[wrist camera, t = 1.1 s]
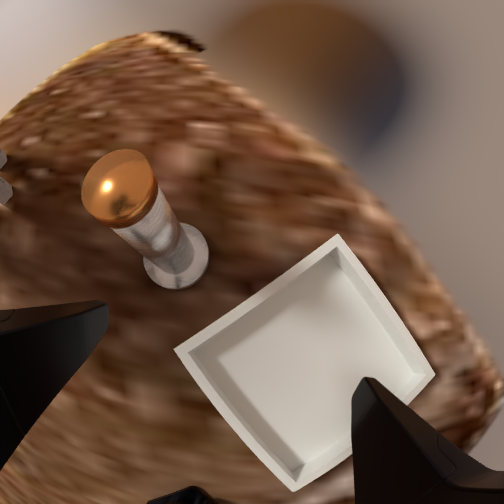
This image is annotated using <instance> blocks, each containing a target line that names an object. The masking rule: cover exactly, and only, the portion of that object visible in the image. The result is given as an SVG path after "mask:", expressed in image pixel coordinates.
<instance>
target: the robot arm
mask: <svg viewBox="0 0 504 504" xmlns="http://www.w3.org/2000/svg"><path fill="white" fill-rule="evenodd" d="M108 326H109V306H108V304H107V303H105V302H102V301H100V300H93V301H85V302H77V303H68V304H59V305H50V306H41V307H31V308H21V309H10V310H0V471H1V469H2V468H3V466H4V465H5V463H6V462H7V461H8V459H9V458H10V456H11V455H12V453H13V452H14V451H15V449H16V448H17V446H18V445H19V444H20V442H21V441H22V440H23V438H24V437H25V436H24V435H26V434H27V433H28V431H29V430H30V429H31V427H32V426H33V425H34V423H35V422H36V421H37V419H38V418H39V417H40V416H41V414H42V413H43V412H44V410H45V409H46V408H47V407H48V405H49V404H50V403H51V402H52V400H53V399H54V398H55V397H56V395H57V394H58V393H59V392H60V390H61V389H62V388H63V387H64V386H65V384H66V383H67V382H68V381H69V380H70V378H71V377H72V376H73V375H74V374H75V372H76V371H77V370H78V369H79V368H80V366H81V365H82V364H83V363H84V362H85V361H86V359H87V358H88V357H89V355H90V354H91V352H92V351H93V349H94V348H95V347H96V345H97V344H98V342H99V341H100V339H101V338H102V336H103V335H104V333H105V332H106V331H107V329H108ZM351 444H352V456H353V470H354V490H355V504H504V471H495V470H491V469H489V468H487V467H485V466H484V465H482V464H481V463H479V462H478V461H476V460H475V459H473V458H472V457H471V456H469V455H468V454H466V453H465V452H463V451H462V450H461V449H459V448H458V447H456V446H455V445H454V444H452V443H451V442H450V441H449V440H447V439H446V438H445V437H444V436H443V435H441V434H440V433H438V432H437V430H435V429H434V428H433V427H432V426H431V425H429V424H428V423H427V422H426V421H425V420H423V419H422V418H421V417H420V416H419V415H418V414H416V413H415V412H414V411H413V410H412V409H410V408H409V407H408V406H407V405H406V404H405V403H403V402H402V401H401V400H400V399H399V398H398V397H396V396H395V395H394V394H393V393H392V392H391V391H389V390H388V389H387V388H386V387H385V386H384V385H382V384H381V383H380V382H379V381H378V380H377V379H375V378H372V377H363V378H362V379H361V381H360V383H359V384H358V386H357V388H356V390H355V391H354V393H353V395H352V399H351ZM191 490H194V491H191ZM147 504H215V503H214V502H213V501H211V500H210V499H208V498H207V497H206V496H205V495H203V494H202V493H201V492H200V491H199V490H198V489H197V488H196V487H194V486H189V487H187V488H184V489H181V490H179V491H176V492H174V493H171V494H168V495H165V496H162V497H159V498H156V499H153V500H150V501H148V502H147Z"/></svg>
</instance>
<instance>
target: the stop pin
mask: <svg viewBox="0 0 504 504" xmlns="http://www.w3.org/2000/svg"><path fill="white" fill-rule="evenodd" d="M81 198H82V202H83V205H84V207H85V208H86V210H87V211H88V212H89V213H91V214H92V215H93V216H94V217H95V218H96V219H97V220H99V221H100V222H101V223H102V224H103V225H105V226H107V227H109V228H111V229H112V230H113V231H114V232H115V233H117V234H118V235H119V236H120V237H121V238H123V239H124V240H125V241H126V242H127V243H129V244H130V245H131V246H132V247H133V248H135V249H136V250H137V251H138V252H139V253H141V254H142V255H143V262H144V267H145V270H146V272H147V274H148V275H149V277H150V278H151V279H152V280H153V281H154V282H155V283H157V284H158V285H160V286H162V287H164V288H166V289H170V290H183V289H187V288H189V287H191V286H193V285H195V284H196V283H197V282H198V281H199V280H200V279H201V278H202V277H203V276H204V274H205V272H206V270H207V268H208V265H209V260H210V253H209V248H208V245H207V243H206V240H205V238H204V237H203V235H202V234H201V233H200V232H199V231H198V230H197V229H196V228H195V227H193V226H191V225H188V224H185V223H179V221H178V219H177V217H176V216H175V214H174V212H173V210H172V209H171V207H170V205H169V203H168V202H167V200H166V198H165V196H164V194H163V193H162V191H161V189H160V187H159V185H158V181H157V178H156V176H155V174H154V172H153V170H152V169H151V167H150V165H149V163H148V161H147V159H146V158H145V156H144V155H143V154H142V153H140V152H139V151H136V150H133V149H120V150H116V151H113V152H111V153H109V154H107V155H105V156H103V157H102V158H101V159H99V160H98V161H97V162H96V163H95V164H94V165H93V166H92V167H91V169H90V170H89V172H88V173H87V175H86V177H85V179H84V182H83V185H82V190H81Z"/></svg>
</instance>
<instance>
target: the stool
mask: <svg viewBox="0 0 504 504" xmlns="http://www.w3.org/2000/svg"><path fill="white" fill-rule="evenodd" d="M6 162H7V156H6V154H5V153H4V152H3V151H2V150H1V149H0V169H1V168H2V167H3V166H4V164H5V163H6ZM12 195H13V191H12V186H11V185H10V184H9V183H7V182H6V181H5V180H4V179H3V178H1V177H0V203H1V204H3V205H5V204H6V202H7V201H8V200H9V199H10V198H11V197H12Z"/></svg>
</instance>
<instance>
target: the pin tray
mask: <svg viewBox="0 0 504 504" xmlns="http://www.w3.org/2000/svg"><path fill="white" fill-rule="evenodd" d="M174 351H175V352H176V354H177V355H178V357H179V358H180V360H181V361H182V363H183V364H184V365H185V367H186V368H187V370H188V371H189V373H190V374H191V375H192V377H193V378H194V380H195V381H196V382H197V384H198V385H199V387H200V388H201V389H202V391H203V392H204V393H205V395H206V396H207V397H208V399H209V400H210V401H211V402H212V404H213V405H214V406H215V408H216V409H217V410H218V411H219V413H220V414H221V415H222V416H223V418H224V419H225V420H226V421H227V423H228V424H229V425H230V426H231V427H232V429H233V430H234V431H235V432H236V433H237V434H238V436H239V437H240V438H241V439H242V440H243V441H244V442H245V444H246V445H247V446H248V447H249V448H250V449H251V450H252V451H253V452H254V454H255V455H256V456H257V457H258V458H259V459H260V460H261V461H262V462H263V463H264V464H265V465H266V466H267V467H268V468H269V469H270V470H271V471H272V472H273V473H274V474H275V475H276V476H277V477H278V478H279V479H280V480H281V481H282V482H283V483H284V484H285V485H286V486H287V487H288V488H289V489H290V490H291V491H292V492H295V491H296V490H298V489H300V488H302V487H303V486H305V485H307V484H308V483H310V482H312V481H313V480H315V479H316V478H318V477H320V476H321V475H323V474H324V473H326V472H327V471H329V470H330V469H332V468H333V467H335V466H336V465H337V464H339V463H340V462H342V461H343V460H344V459H346V458H347V457H348V456H350V455H351V454H352V444H351V399H352V395H353V393H354V391H355V390H356V388H357V386H358V384H359V383H360V381H361V379H362V378H363V377H372V378H375V379H377V380H378V381H379V382H380V383H381V384H382V385H384V386H385V387H386V388H387V389H388V390H389V391H391V392H392V393H393V394H394V395H395V396H396V397H398V398H399V399H400V400H401V401H402V402H403V403H405V404H406V405H408V404H409V403H410V402H411V401H412V400H413V399H414V398H415V397H416V396H417V395H418V394H419V393H420V392H421V390H422V389H423V388H424V387H425V386H426V385H427V384H428V383H429V382H430V380H431V379H432V378H433V377H434V376H435V373H434V371H433V370H432V368H431V366H430V365H429V363H428V361H427V360H426V358H425V356H424V355H423V353H422V351H421V350H420V348H419V347H418V345H417V343H416V342H415V340H414V339H413V337H412V336H411V334H410V332H409V331H408V329H407V328H406V326H405V325H404V323H403V322H402V320H401V319H400V317H399V316H398V314H397V313H396V311H395V310H394V308H393V307H392V306H391V304H390V303H389V301H388V300H387V298H386V297H385V296H384V294H383V293H382V291H381V290H380V289H379V287H378V286H377V284H376V283H375V282H374V280H373V279H372V277H371V276H370V275H369V273H368V272H367V271H366V269H365V268H364V267H363V265H362V264H361V263H360V261H359V260H358V259H357V257H356V256H355V255H354V254H353V252H352V251H351V250H350V248H349V247H348V246H347V244H346V243H345V242H344V241H343V239H342V238H341V237H340V236H339V234H336V235H335V236H334V237H332V238H331V239H330V240H328V241H327V242H326V243H324V244H323V245H322V246H320V247H319V248H318V249H316V250H315V251H314V252H312V253H311V254H310V255H308V256H307V257H306V258H304V259H303V260H301V261H300V262H299V263H297V264H296V265H295V266H293V267H292V268H291V269H289V270H288V271H286V272H285V273H284V274H282V275H281V276H279V277H278V278H277V279H275V280H274V281H272V282H271V283H270V284H268V285H267V286H265V287H264V288H263V289H261V290H260V291H258V292H257V293H256V294H254V295H253V296H251V297H250V298H248V299H247V300H246V301H244V302H243V303H241V304H240V305H238V306H237V307H235V308H234V309H233V310H231V311H230V312H228V313H227V314H225V315H224V316H222V317H221V318H219V319H218V320H217V321H215V322H214V323H212V324H211V325H209V326H208V327H206V328H205V329H203V330H202V331H200V332H199V333H197V334H196V335H194V336H193V337H191V338H190V339H188V340H187V341H185V342H184V343H182V344H181V345H179V346H177V347H176V348H174Z"/></svg>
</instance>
